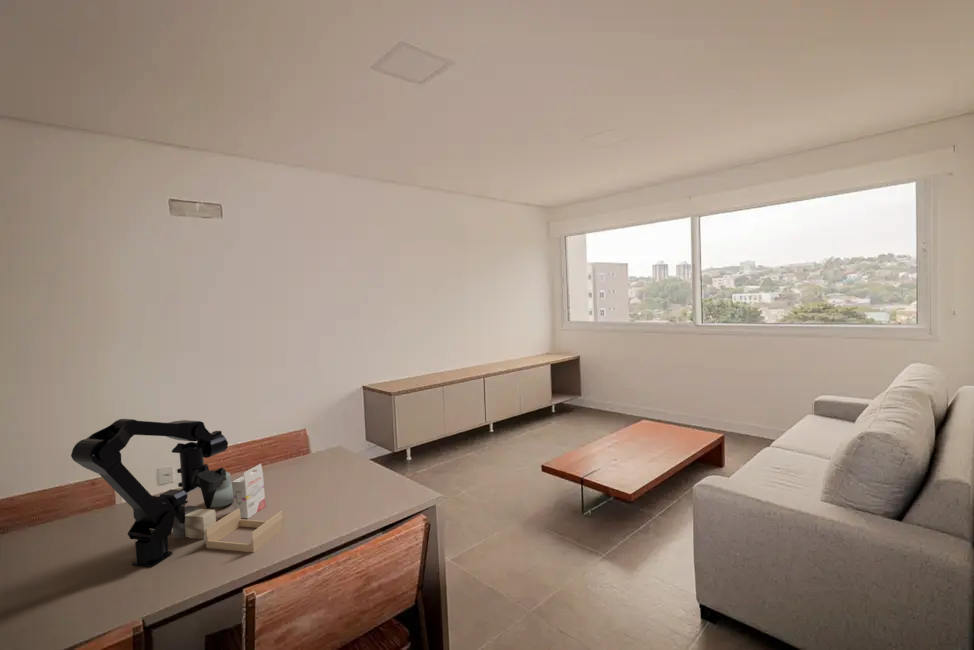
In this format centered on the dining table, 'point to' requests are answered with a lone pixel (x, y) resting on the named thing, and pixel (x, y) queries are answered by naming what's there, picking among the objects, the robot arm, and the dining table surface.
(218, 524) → the wooden tray frame
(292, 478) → the dining table surface
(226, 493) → the air freshener
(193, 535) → the steel ended block
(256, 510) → the ink cartridge box
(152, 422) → the robot arm
